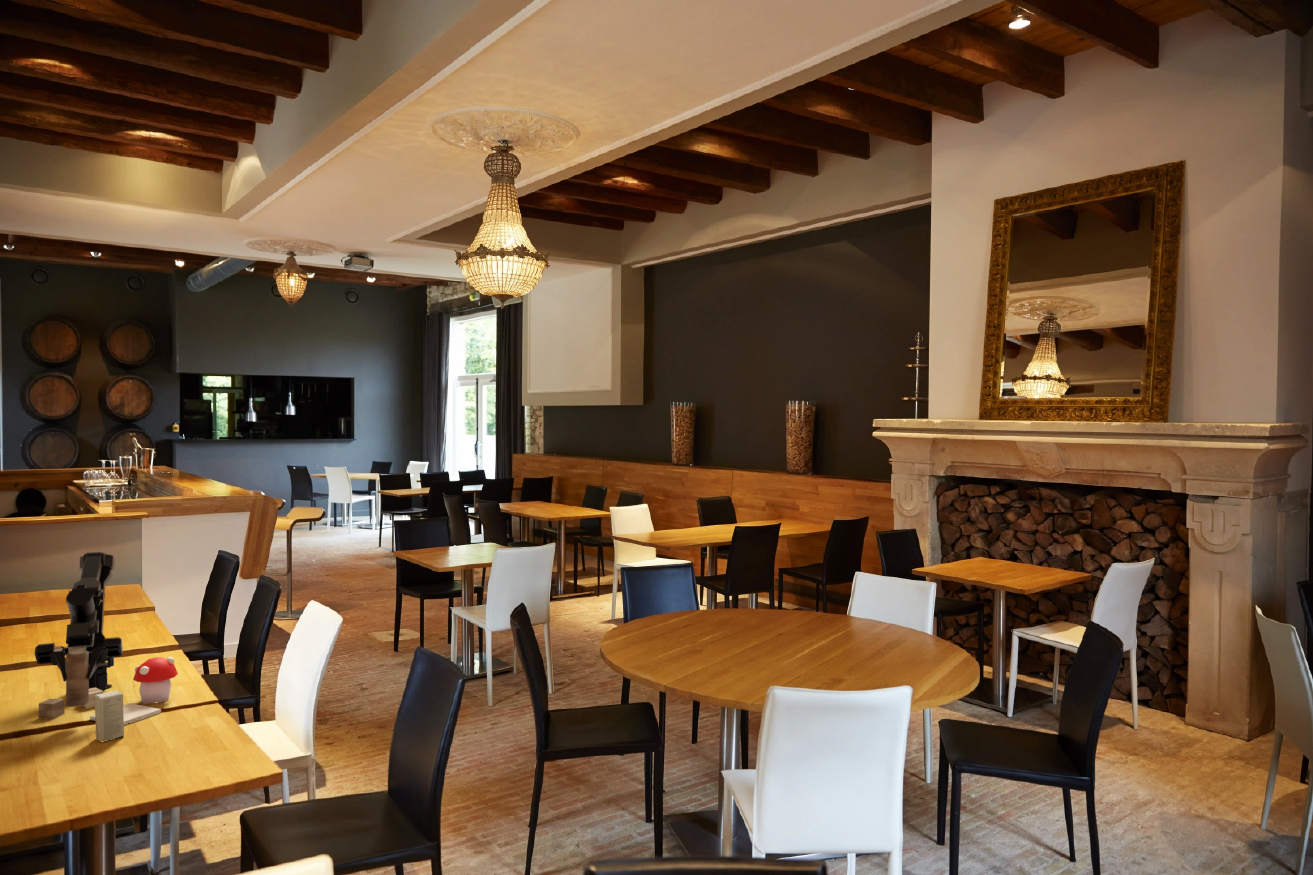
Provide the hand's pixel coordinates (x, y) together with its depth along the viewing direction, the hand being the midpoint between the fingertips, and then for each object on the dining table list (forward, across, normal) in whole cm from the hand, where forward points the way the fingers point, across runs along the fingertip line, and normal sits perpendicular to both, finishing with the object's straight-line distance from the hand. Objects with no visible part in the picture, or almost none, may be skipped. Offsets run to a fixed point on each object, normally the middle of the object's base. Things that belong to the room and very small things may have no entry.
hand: (76, 679), depth 218 cm
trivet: (+6, +10, +11) cm, 17 cm away
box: (+18, +8, 0) cm, 20 cm away
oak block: (-4, +1, +22) cm, 22 cm away
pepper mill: (+4, 0, +6) cm, 7 cm away
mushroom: (-2, +16, +20) cm, 26 cm away
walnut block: (0, -7, +18) cm, 19 cm away
